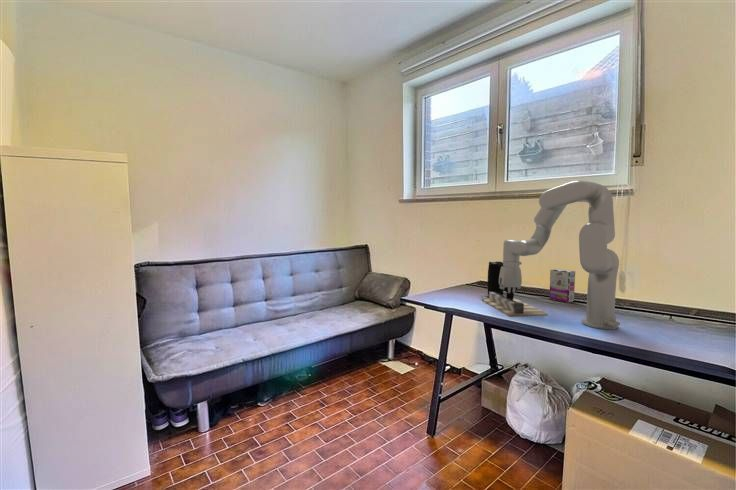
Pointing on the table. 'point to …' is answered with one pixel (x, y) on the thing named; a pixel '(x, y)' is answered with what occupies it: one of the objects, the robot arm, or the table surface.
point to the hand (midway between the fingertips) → (509, 300)
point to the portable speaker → (494, 277)
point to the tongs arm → (505, 297)
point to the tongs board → (512, 306)
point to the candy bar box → (562, 285)
